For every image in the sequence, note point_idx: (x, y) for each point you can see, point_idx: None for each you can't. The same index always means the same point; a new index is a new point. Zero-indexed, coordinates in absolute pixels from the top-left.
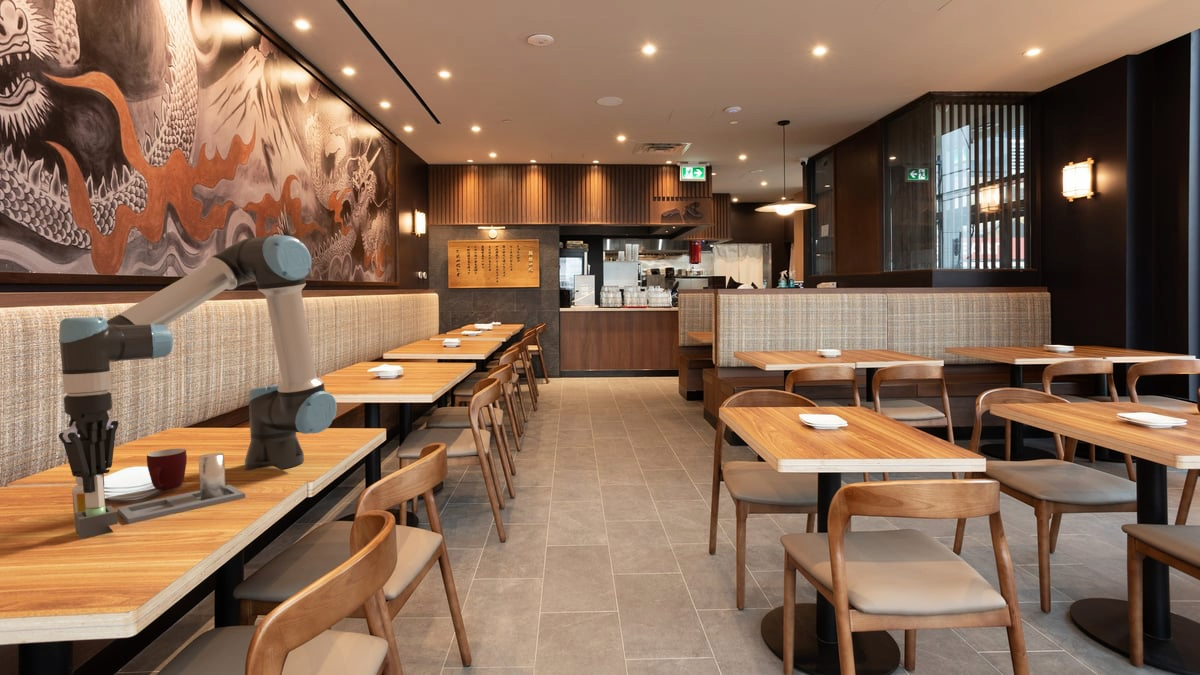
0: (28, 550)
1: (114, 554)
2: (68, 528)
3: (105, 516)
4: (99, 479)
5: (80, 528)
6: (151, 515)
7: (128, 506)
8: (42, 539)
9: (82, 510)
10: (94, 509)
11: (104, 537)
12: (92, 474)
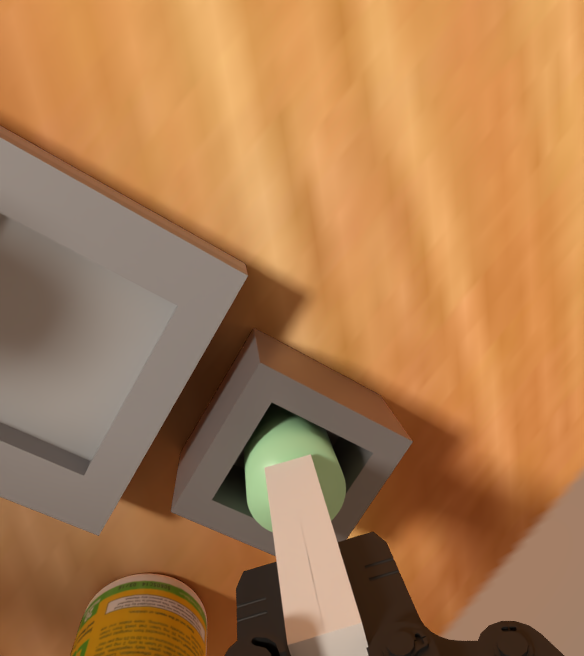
0: (513, 478)
1: (536, 14)
2: None
3: (307, 384)
4: (324, 600)
5: (394, 417)
6: (138, 214)
7: (66, 491)
8: (402, 550)
9: (197, 644)
10: (330, 460)
11: (343, 305)
12: (425, 641)
